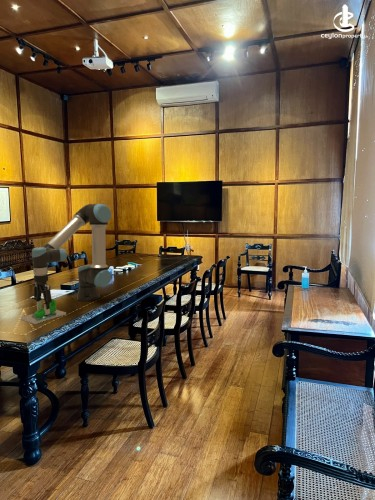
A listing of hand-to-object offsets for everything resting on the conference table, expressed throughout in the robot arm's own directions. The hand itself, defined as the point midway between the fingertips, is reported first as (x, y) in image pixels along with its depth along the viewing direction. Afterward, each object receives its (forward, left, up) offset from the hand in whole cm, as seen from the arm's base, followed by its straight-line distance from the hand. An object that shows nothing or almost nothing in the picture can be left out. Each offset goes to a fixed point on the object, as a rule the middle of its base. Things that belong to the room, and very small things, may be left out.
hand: (43, 313), depth 203 cm
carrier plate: (0, 0, -2) cm, 2 cm away
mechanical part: (-1, 0, -1) cm, 1 cm away
